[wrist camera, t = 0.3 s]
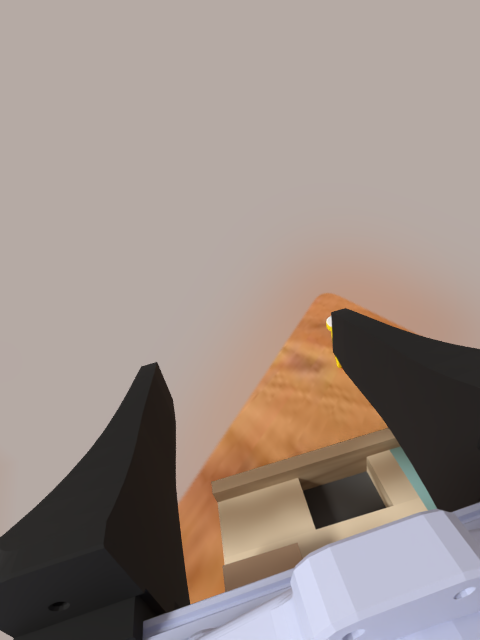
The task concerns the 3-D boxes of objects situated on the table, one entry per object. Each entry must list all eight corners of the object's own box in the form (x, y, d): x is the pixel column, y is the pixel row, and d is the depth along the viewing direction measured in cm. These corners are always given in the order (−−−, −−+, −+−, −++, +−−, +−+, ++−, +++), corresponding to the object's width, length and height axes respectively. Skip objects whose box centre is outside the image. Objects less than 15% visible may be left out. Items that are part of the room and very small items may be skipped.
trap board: (677, 745, 15) (731, 742, 13) (272, 875, 15) (254, 895, 13) (434, 439, 29) (440, 411, 27) (223, 504, 29) (211, 482, 27)
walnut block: (325, 637, 19) (321, 625, 17) (244, 663, 19) (232, 653, 17) (303, 559, 22) (297, 542, 20) (233, 581, 22) (222, 565, 20)
